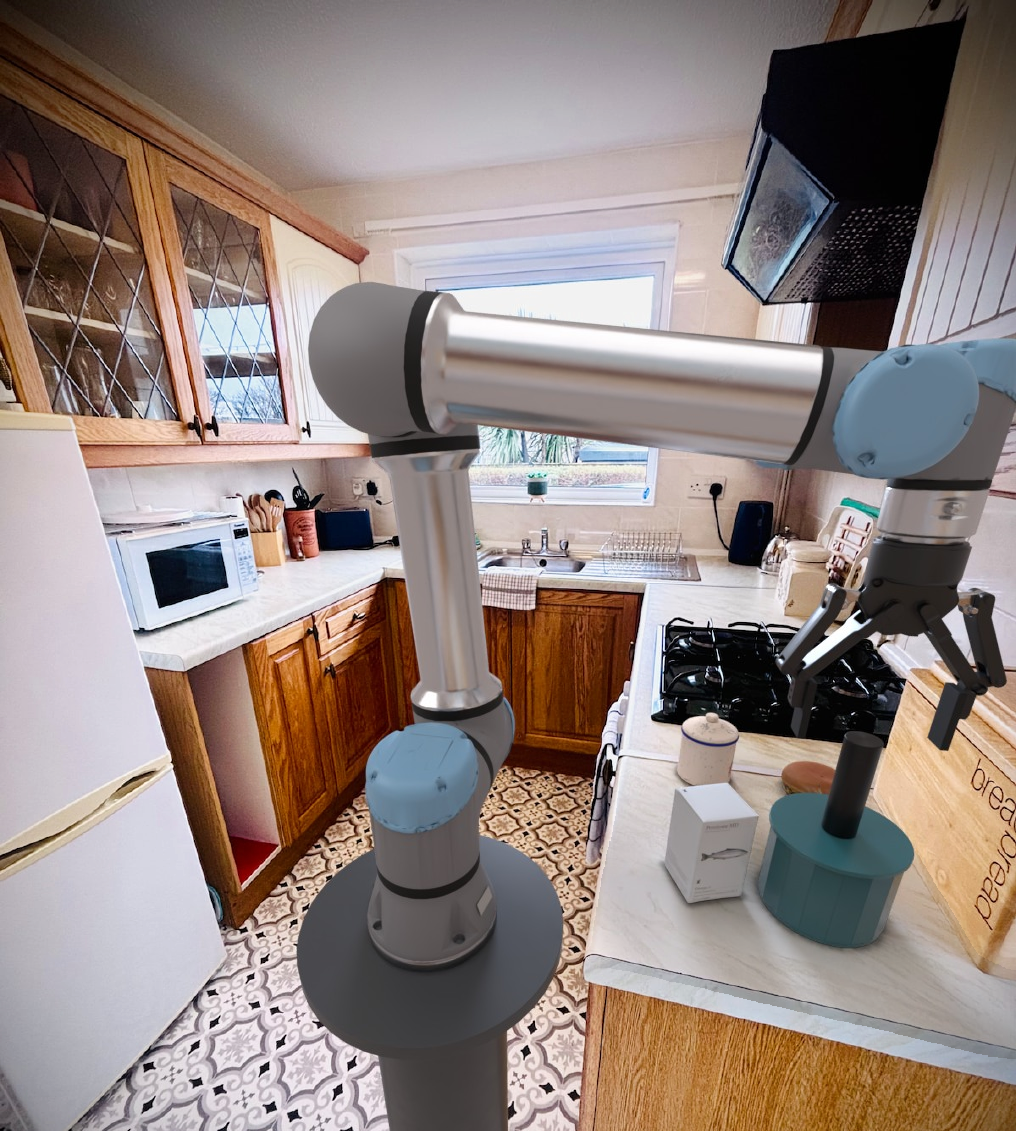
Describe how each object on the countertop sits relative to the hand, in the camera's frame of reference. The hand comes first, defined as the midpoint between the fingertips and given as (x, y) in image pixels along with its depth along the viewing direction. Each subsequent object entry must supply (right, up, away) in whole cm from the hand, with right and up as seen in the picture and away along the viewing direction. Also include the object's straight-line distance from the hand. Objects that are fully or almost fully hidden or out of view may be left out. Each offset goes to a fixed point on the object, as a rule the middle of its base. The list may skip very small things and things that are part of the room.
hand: (865, 738), depth 58 cm
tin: (0, -21, +9) cm, 23 cm away
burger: (+11, -13, +30) cm, 34 cm away
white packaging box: (-13, -20, +13) cm, 27 cm away
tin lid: (0, -12, +5) cm, 13 cm away
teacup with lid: (-5, -10, +37) cm, 38 cm away
